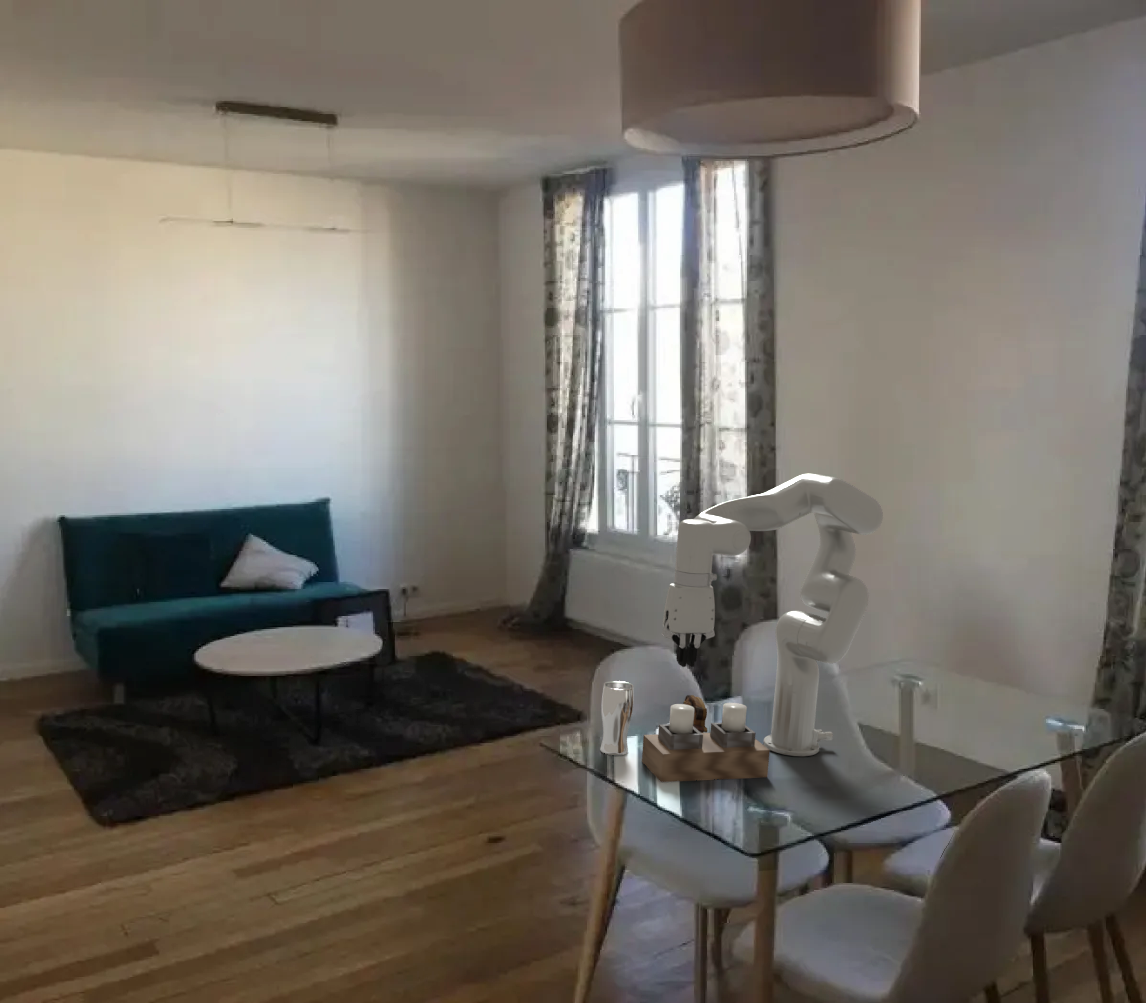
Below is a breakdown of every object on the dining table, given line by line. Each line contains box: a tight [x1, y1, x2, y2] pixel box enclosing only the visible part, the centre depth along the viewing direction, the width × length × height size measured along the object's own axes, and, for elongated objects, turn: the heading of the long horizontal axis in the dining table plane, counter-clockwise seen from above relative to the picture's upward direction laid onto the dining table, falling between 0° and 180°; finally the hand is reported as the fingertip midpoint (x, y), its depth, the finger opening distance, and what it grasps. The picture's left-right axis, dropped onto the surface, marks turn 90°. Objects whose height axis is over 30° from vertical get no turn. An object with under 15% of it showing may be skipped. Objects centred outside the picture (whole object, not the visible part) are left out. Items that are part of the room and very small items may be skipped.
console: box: [641, 722, 771, 783], centre depth 253 cm, size 24×12×9 cm, turn 106°
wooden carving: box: [682, 694, 708, 733], centre depth 272 cm, size 16×5×10 cm, turn 18°
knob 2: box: [721, 702, 748, 732], centre depth 254 cm, size 5×5×5 cm
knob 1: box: [669, 703, 694, 734], centre depth 250 cm, size 5×5×5 cm
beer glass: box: [600, 680, 634, 757], centre depth 260 cm, size 7×7×15 cm
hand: (685, 664), depth 249 cm, fingers closed
